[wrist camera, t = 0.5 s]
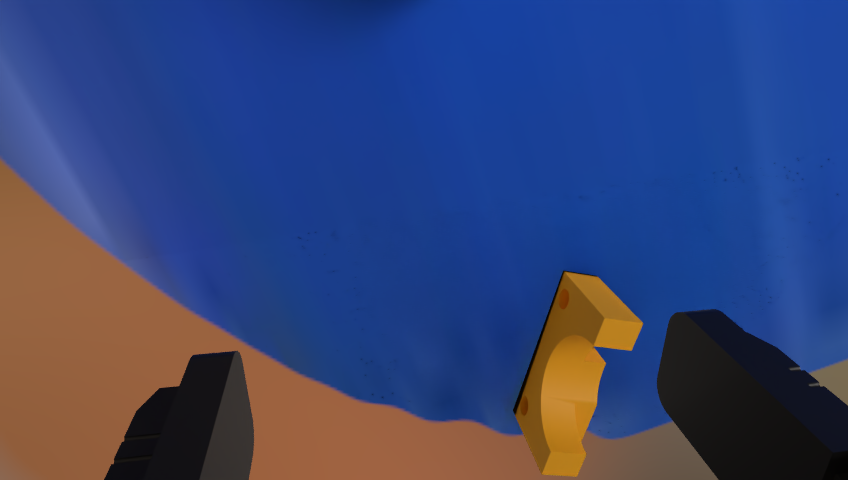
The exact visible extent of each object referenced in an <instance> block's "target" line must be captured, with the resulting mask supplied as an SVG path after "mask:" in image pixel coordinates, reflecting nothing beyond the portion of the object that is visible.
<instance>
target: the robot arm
mask: <svg viewBox="0 0 848 480" xmlns="http://www.w3.org/2000/svg"><path fill="white" fill-rule="evenodd" d="M657 389H658V394H659V398H660V401H661V403H662V406H663V407H664V409H665V411H666V412H667V414H668V415H669V416H670V417H671V419H672V420H673V421H674V423H675V424H676V425H677V426H678V428H679V429H680V430H681V432H682V433H683V434H684V435H685V437H686V438H687V439H688V441H689V442H690V443H691V445H692V446H693V447H694V448H695V450H696V451H697V452H698V454H699V455H700V456H701V457H702V459H703V460H704V461H705V463H706V464H707V465H708V466H709V468H710V469H711V470H712V472H713V473H714V474H715V475H716V477H717V478H718V479H719V480H848V406H847V405H846V404H845V403H844V402H843V401H841V400H840V399H839V398H838V397H837V396H835V395H834V394H833V393H832V392H830V391H829V390H828V389H827V388H826V387H824V386H823V387H820V385H819V382H818V381H817V380H816V379H815V378H813V377H812V376H811V375H810V374H809V373H807V372H806V371H805V370H802V371H801V370H800V366H799V365H798V364H796V363H795V362H794V361H793V360H791V359H790V358H789V357H788V356H787V355H785V354H784V353H783V352H782V351H780V350H779V349H778V348H777V347H775V346H773V345H771V344H769V343H767V342H765V341H763V340H761V339H759V338H757V337H755V336H753V335H751V334H749V333H746V332H745V331H744V330H743V329H741V328H740V327H739V326H738V325H737V324H736V323H734V322H733V321H732V320H731V319H730V318H728V317H727V316H726V315H725V314H724V313H722V312H721V311H719V310H716V309H710V310H699V311H688V312H677V313H675V314H674V315H672V317H671V318H670V320H669V324H668V328H667V333H666V338H665V343H664V348H663V352H662V357H661V362H660V367H659V372H658V377H657ZM124 438H125V440H124V442H122V443H121V445H120V447H119V449H118V451H117V454H116V456H115V458H114V464H111V466H110V468H109V471H108V473H107V475H106V477H105V479H104V480H249V474H250V469H251V462H252V456H253V446H254V429H253V419H252V413H251V408H250V402H249V397H248V391H247V385H246V380H245V374H244V369H243V363H242V358H241V355H240V353H239V352H238V351H232V352H221V353H209V354H199V355H193V356H192V357H191V358H190V361H189V363H188V365H187V368H186V370H185V373H184V376H183V378H182V381H181V384H180V386H178V387H167V388H159V389H158V390H157V391H156V392H155V393H154V394H153V395H152V396H151V397H150V398H149V399H148V400H147V401H146V402H145V403H144V404H143V405H142V406H141V407H140V408H139V409H138V410H137V411H136V413H135V415H134V417H133V419H132V422H131V424H130V426H129V428H128V430H127V432H126V434H125V436H124Z"/></svg>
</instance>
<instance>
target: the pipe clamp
mask: <svg viewBox="0 0 848 480" xmlns="http://www.w3.org/2000/svg"><path fill="white" fill-rule="evenodd" d="M642 325H643V323H642V322H641V321H640V320H639V319H638V317H637V316H636V315H635V314H634V313H633V312H632V311H631V310H630V309H629V308H628V307H627V306H626V305H625V304H624V303H623V302H622V301H621V300H620V299H619V298H618V297H617V296H616V295H615V294H614V293H613V292H612V291H611V290H610V289H609V288H608V287H607V286H606V285H605V284H604V283H603V282H602V281H601V280H600V279H599V278H598V277H597V276H595V275H589V274H582V273H576V272H569V271H563V273H562V276H561V278H560V281H559V284H558V287H557V289H556V292H555V295H554V298H553V300H552V303H551V306H550V309H549V312H548V314H547V317H546V320H545V323H544V325H543V328H542V331H541V334H540V337H539V339H538V342H537V345H536V348H535V350H534V353H533V356H532V359H531V362H530V364H529V367H528V370H527V373H526V375H525V378H524V381H523V384H522V387H521V389H520V392H519V395H518V398H517V400H516V403H515V406H514V409H513V412H514V414H515V416H516V419H517V421H518V423H519V425H520V427H521V430H522V432H523V434H524V436H525V438H526V441H527V443H528V445H529V447H530V450H531V452H532V454H533V456H534V458H535V461H536V463H537V465H538V467H539V470H540V472H541V474H542V475H559V476H560V475H561V476H575V477H577V475H578V473H579V471H580V468H581V466H582V463H583V461H584V459H585V457H586V452H585V450H584V448H583V446H582V443H581V441H582V439H583V436H584V434H585V432H586V429H587V427H588V424H589V422H590V420H591V417H592V415H593V413H594V410H595V408H596V406H597V394H598V387H599V382H600V378H601V375H602V372H603V369H604V367H605V365H606V363H605V361H604V360H603V359H602V357H601V356H600V355H599V354H598V352H597V351H596V350H595V348H594V346H597V347H605V348H614V349H622V350H630V351H631V350H632V348H633V346H634V343H635V341H636V339H637V337H638V334H639V332H640V330H641V327H642Z"/></svg>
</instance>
